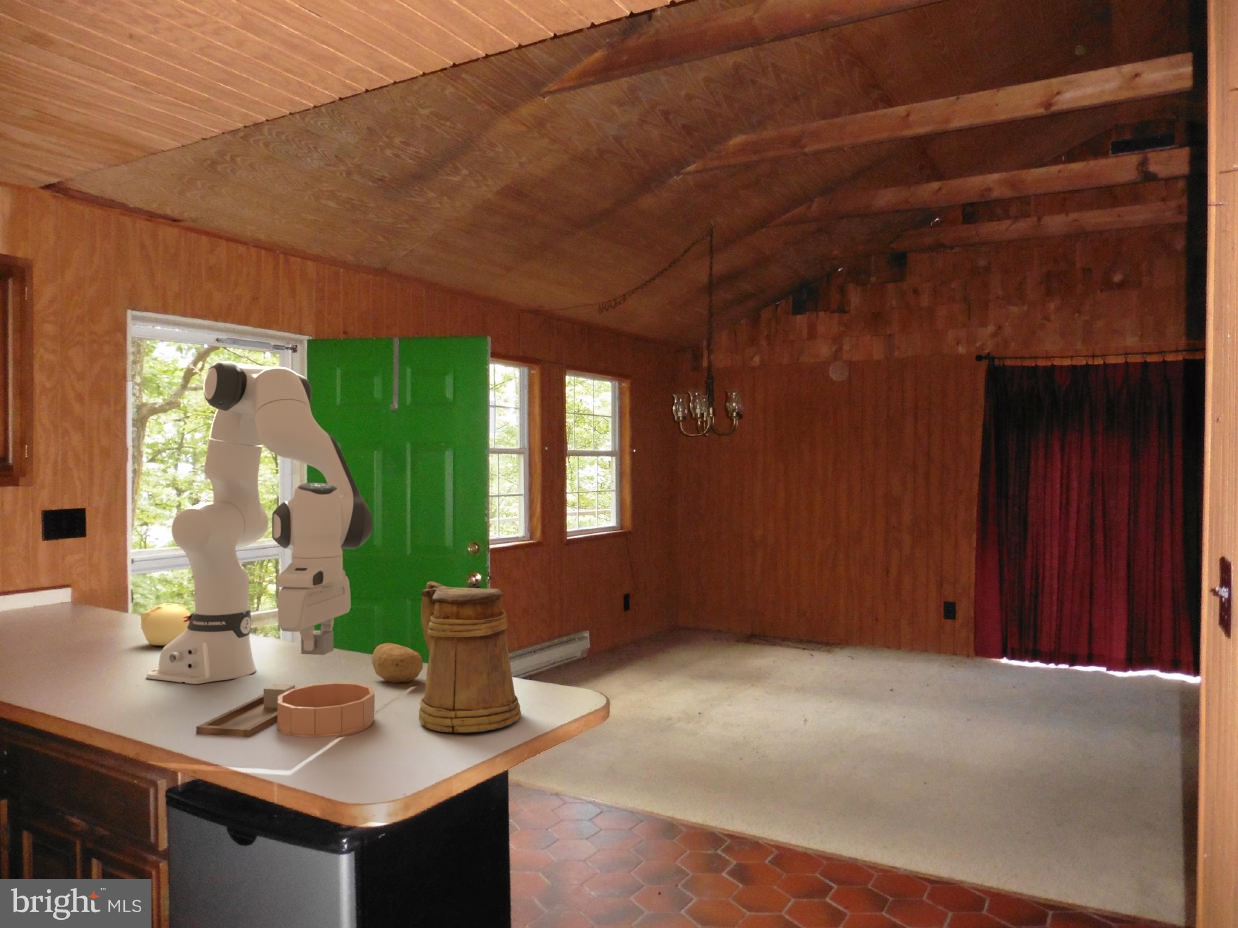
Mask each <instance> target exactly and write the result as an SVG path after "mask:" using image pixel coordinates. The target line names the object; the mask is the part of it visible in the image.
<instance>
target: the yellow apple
mask: <svg viewBox="0 0 1238 928" xmlns="http://www.w3.org/2000/svg"><path fill="white" fill-rule="evenodd" d="M191 614H192V613H191V612H190V611H189V610H188V607H187V605H186V606H185V605H183V604H181V603H171V602H170V603H168V602H167V603H161V604H159V605H157V606H155V607H153V608H150V609H148V610H145V611H144V612H142V613H141V614H140V621H141V622H140V629H141V630H142V633H143V635H144V638H145V640H146V641H147V643H148V644H149V645H150V646H166V645H167V644H169V643H170V642H171V641H173V640H174V639H175V638H176V637H178V636H179V635H180V634H182V633H183V632H184V631H185V630H187V629H188V628H187V627H188V624H189V621H187V622H183V621H184V620H186V619H187V618H183V617H186V616H190V615H191Z"/></svg>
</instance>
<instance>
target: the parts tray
mask: <svg viewBox="0 0 1238 928" xmlns="http://www.w3.org/2000/svg"><path fill="white" fill-rule="evenodd" d="M275 723H277V708H267V707H264V693H263V694H261V695H259V696H257V697H255V698H252V699H250V700H248V701H246V702H243V703H242V704H240V705H239V706H236V707H234V708H232V709H230V710H228V711H226V712H224V713H221V714H220V715H218V716H216V717H213V718H211V719H210V720H208V721H205V722H203V723H201V724H199V725H197V726H196V727H195V730H196V731H195V734H196V735H206V736H207V735H208V736H223V737H224V736H225V737H238V738H239V737H240V738H250V737H252V736H254V735H255V734H257V733H259V732H261V731H262V730H265V729H266V728H268V727H270V726H272V725H273V724H275Z"/></svg>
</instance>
